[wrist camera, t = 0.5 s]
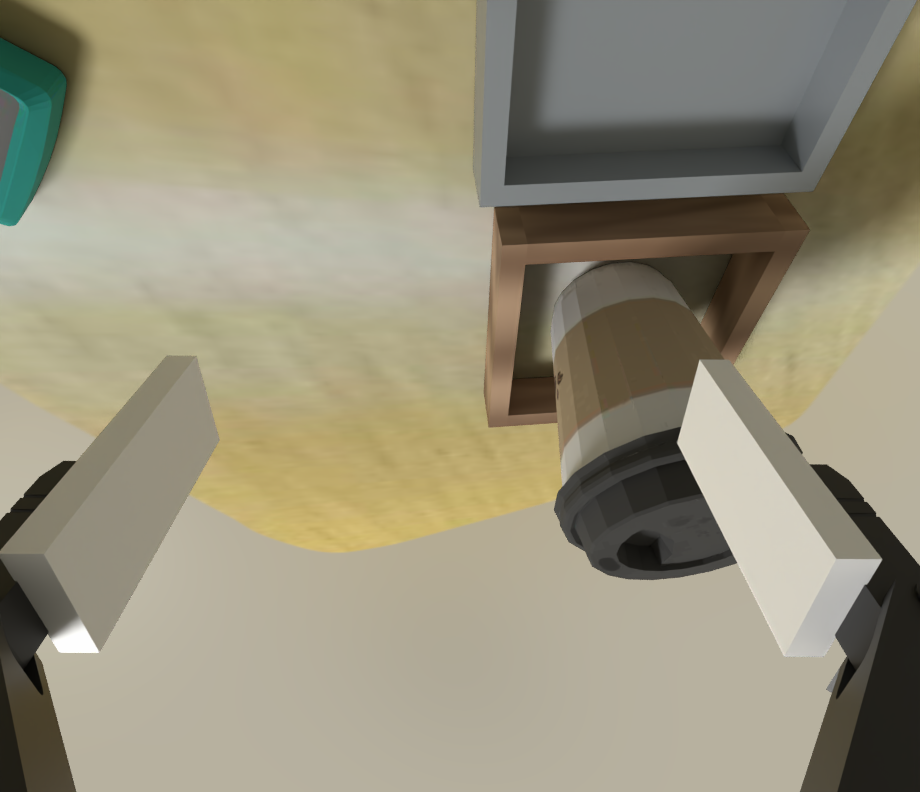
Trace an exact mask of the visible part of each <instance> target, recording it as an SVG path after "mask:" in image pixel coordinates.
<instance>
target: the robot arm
mask: <svg viewBox="0 0 920 792" xmlns="http://www.w3.org/2000/svg"><path fill="white" fill-rule="evenodd" d="M218 442H219V436H218V432H217V429H216V425H215V422H214V418H213V414H212V411H211V407H210V404H209V400H208V396H207V393H206V389H205V386H204V382H203V378H202V375H201V371H200V368H199V364H198V360H197V357H196V356H166V357H165V358H164V360H163V361H162V362H161V363H160V364H159V365H158V367H157V368H156V369H155V370H154V371H153V372H152V374H151V375H150V376H149V377H148V378H147V379H146V381H145V382H144V383H143V384H142V385H141V386H140V388H139V389H138V390H137V391H136V392H135V393H134V395H133V396H132V397H131V398H130V399H129V401H128V402H127V403H126V404H125V405H124V406H123V408H122V409H121V410H120V411H119V412H118V413H117V415H116V416H115V417H114V418H113V419H112V420H111V422H110V423H109V424H108V425H107V426H106V427H105V429H104V430H103V431H102V432H101V433H100V434H99V436H98V437H97V438H96V439H95V440H94V442H93V443H92V444H91V445H90V446H89V447H88V449H87V450H86V451H85V452H84V453H83V454H82V455H81V457H80V458H79V459H78V460H77V461H63V462H61V463H60V464H58V465H57V466H55V467H54V468H52V469H51V470H49V471H48V472H46V473H45V474H43V475H42V476H40V477H39V478H38V479H37V480H36V481H35V483H34V484H33V485H32V486H31V487H30V488H29V489H28V490H27V491H26V493H25V494H24V497H23V498H20V499H19V500H18V501H17V502H16V504H15V505H14V506H13V507H12V508H11V512H10V513H6V515H5V516H4V517H3V518H2V519H1V520H0V792H76V789H75V785H74V781H73V778H72V774H71V771H70V766H69V763H68V759H67V755H66V751H65V747H64V744H63V740H62V736H61V732H60V729H59V725H58V721H57V717H56V713H55V710H54V706H53V702H52V699H51V694H50V691H49V687H48V683H47V679H46V676H45V672H44V669H43V664H42V662H41V660H40V659H39V657H38V656H37V654H36V653H35V652H36V651H37V649H38V648H39V646H40V644H41V643H42V642H43V640H44V638H45V637H46V636H47V634H48V635H49V637H50V638H51V640H52V641H53V643H54V645H55V646H56V648H57V649H58V651H59V652H60V653H61V652H65V653H100V651H101V649H102V647H103V646H104V644H105V642H106V640H107V639H108V637H109V635H110V633H111V631H112V630H113V628H114V626H115V624H116V622H117V621H118V619H119V617H120V615H121V614H122V612H123V610H124V608H125V607H126V605H127V603H128V601H129V600H130V598H131V596H132V594H133V592H134V591H135V589H136V587H137V585H138V583H139V582H140V580H141V578H142V577H143V575H144V573H145V571H146V569H147V567H148V566H149V564H150V562H151V561H152V559H153V557H154V555H155V553H156V552H157V550H158V548H159V546H160V545H161V543H162V541H163V539H164V538H165V536H166V534H167V532H168V530H169V529H170V527H171V525H172V523H173V522H174V520H175V518H176V516H177V514H178V513H179V511H180V509H181V507H182V506H183V504H184V502H185V500H186V499H187V497H188V495H189V493H190V491H191V490H192V488H193V486H194V484H195V483H196V481H197V479H198V477H199V475H200V474H201V472H202V470H203V468H204V467H205V465H206V463H207V461H208V459H209V458H210V456H211V454H212V452H213V451H214V449H215V447H216V445H217V444H218ZM677 444H678V446H679V448H680V450H681V452H682V454H683V456H684V458H685V460H686V462H687V464H688V466H689V468H690V470H691V472H692V474H693V476H694V478H695V480H696V482H697V484H698V485H699V487H700V489H701V491H702V493H703V495H704V497H705V499H706V501H707V503H708V505H709V507H710V509H711V511H712V513H713V515H714V517H715V519H716V521H717V523H718V525H719V527H720V529H721V531H722V533H723V535H724V537H725V539H726V541H727V543H728V545H729V547H730V549H731V551H732V553H733V555H734V557H735V559H736V561H737V563H738V565H739V567H740V569H741V571H742V573H743V575H744V577H745V579H746V581H747V583H748V585H749V587H750V589H751V591H752V593H753V595H754V597H755V599H756V601H757V603H758V605H759V607H760V609H761V611H762V613H763V615H764V617H765V619H766V621H767V623H768V625H769V627H770V629H771V631H772V633H773V635H774V637H775V639H776V641H777V643H778V645H779V647H780V649H781V651H782V653H783V655H784V657H824V656H825V654H826V653H827V651H828V649H829V648H830V646H831V644H832V643H833V641H834V639H835V638H837V640H838V642H839V643H840V645H841V647H842V648H843V650H844V652H845V653H846V655H847V657H846V659H845V660H844V662H843V663H842V665H841V667H840V668H839V670H838V671H837V673H836V674H835V676H834V678H833V679H832V681H831V683H830V684H829V686H828V687H827V689H826V690H828V691H830V692H832V695H831V698H830V701H829V704H828V707H827V710H826V713H825V717H824V719H823V723H822V725H821V729H820V732H819V735H818V738H817V741H816V744H815V747H814V751H813V753H812V757H811V759H810V763H809V766H808V769H807V772H806V775H805V778H804V781H803V784H802V788H801V791H800V792H920V566H919V564H918V563H917V562H916V561H915V559H914V558H913V557H912V556H911V555H910V553H909V552H908V551H907V550H906V549H905V547H904V546H903V545H902V544H901V543H900V541H899V540H898V539H897V538H896V537H895V535H894V534H893V533H892V532H891V531H890V529H889V528H888V527H887V526H886V525H885V523H884V522H883V521H882V520H881V518H880V517H876V512H875V511H874V510H873V509H872V507H871V506H870V505H869V504H868V503H867V502H864V498H863V497H862V496H861V494H860V493H859V492H858V491H857V489H856V488H855V487H854V486H853V485H852V484H851V482H850V481H849V480H848V479H846V478H845V477H844V476H842V475H841V474H839V473H838V472H837V471H835V470H834V469H832V468H831V467H829V466H828V465H811V464H809V463H808V462H807V461H806V459H805V458H804V457H803V455H802V454H801V453H800V451H799V450H798V449H797V448H796V446H795V445H794V444H793V442H792V441H791V440H790V438H789V437H788V436H787V435H786V433H785V432H784V431H783V429H782V428H781V427H780V425H779V424H778V423H777V422H776V420H775V419H774V418H773V416H772V415H771V414H770V412H769V411H768V410H767V409H766V407H765V406H764V405H763V403H762V402H761V401H760V399H759V398H758V397H757V396H756V394H755V393H754V392H753V390H752V389H751V388H750V386H749V385H748V384H747V382H746V381H745V380H744V379H743V377H742V376H741V375H740V373H739V372H738V371H737V369H736V368H735V367H734V366H733V364H732V363H731V362H730V360H703V359H700V360H699V364H698V367H697V371H696V375H695V379H694V382H693V386H692V390H691V393H690V397H689V401H688V405H687V408H686V412H685V416H684V419H683V423H682V427H681V431H680V434H679V438H678V442H677Z"/></svg>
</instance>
